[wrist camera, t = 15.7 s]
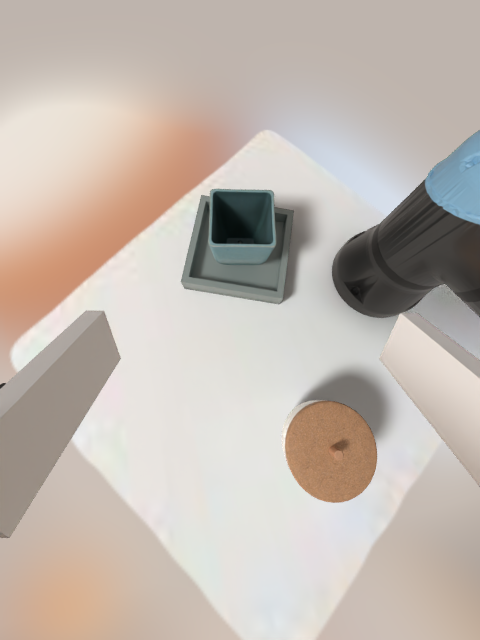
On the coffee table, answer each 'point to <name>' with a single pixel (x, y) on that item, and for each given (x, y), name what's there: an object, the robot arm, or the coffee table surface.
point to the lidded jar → (329, 450)
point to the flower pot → (241, 226)
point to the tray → (237, 279)
